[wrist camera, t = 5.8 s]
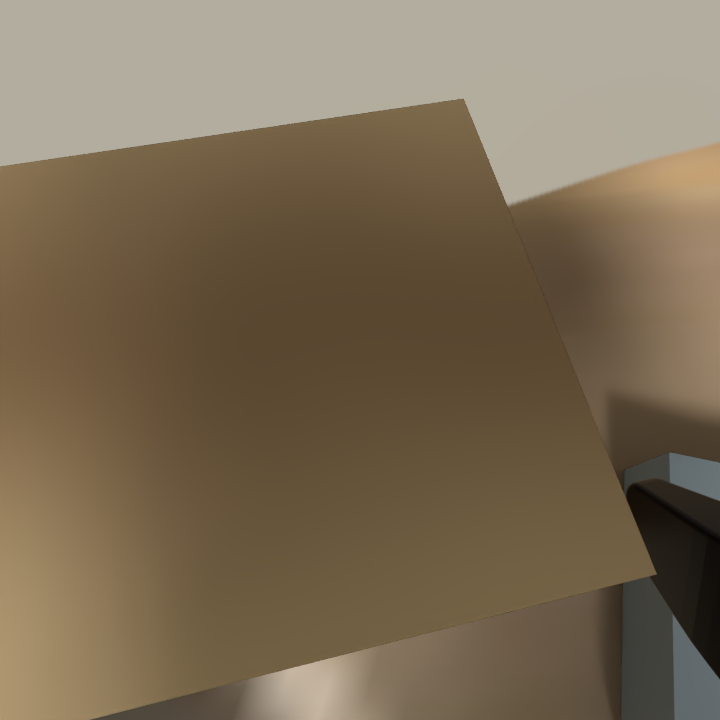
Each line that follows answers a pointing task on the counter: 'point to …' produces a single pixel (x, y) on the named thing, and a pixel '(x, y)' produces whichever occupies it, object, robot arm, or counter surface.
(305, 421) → the oak pillar
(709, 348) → the counter surface
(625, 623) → the slate base block
